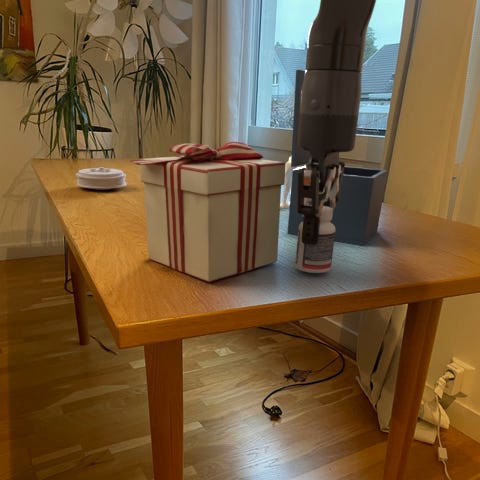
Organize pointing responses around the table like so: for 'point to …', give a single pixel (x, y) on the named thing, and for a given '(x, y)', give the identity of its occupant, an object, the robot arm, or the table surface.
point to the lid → (101, 178)
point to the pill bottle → (317, 246)
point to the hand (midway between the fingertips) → (316, 238)
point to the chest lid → (298, 154)
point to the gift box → (212, 209)
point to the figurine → (287, 183)
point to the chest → (349, 205)
